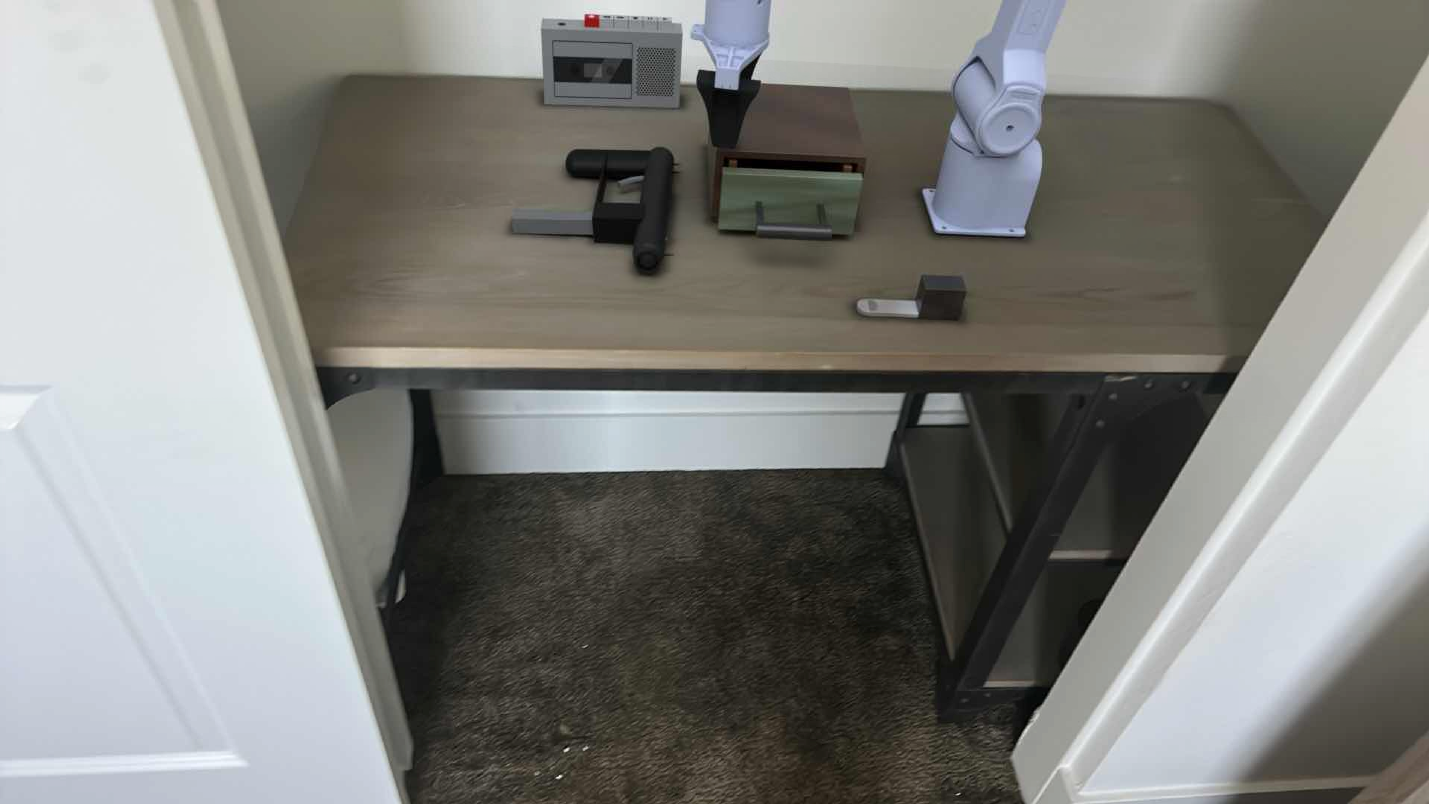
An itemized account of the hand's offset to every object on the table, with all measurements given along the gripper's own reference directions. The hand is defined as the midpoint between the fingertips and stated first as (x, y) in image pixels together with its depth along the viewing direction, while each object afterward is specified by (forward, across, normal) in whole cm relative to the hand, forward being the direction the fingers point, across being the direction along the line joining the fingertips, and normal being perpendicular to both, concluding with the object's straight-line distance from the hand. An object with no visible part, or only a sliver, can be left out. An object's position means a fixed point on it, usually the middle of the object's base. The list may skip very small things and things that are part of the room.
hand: (728, 126), depth 99 cm
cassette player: (+10, -22, -15) cm, 28 cm away
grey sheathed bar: (+10, +12, +19) cm, 24 cm away
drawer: (+9, -1, +6) cm, 11 cm away
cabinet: (+10, -7, +5) cm, 13 cm away
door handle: (+10, +3, -12) cm, 16 cm away
